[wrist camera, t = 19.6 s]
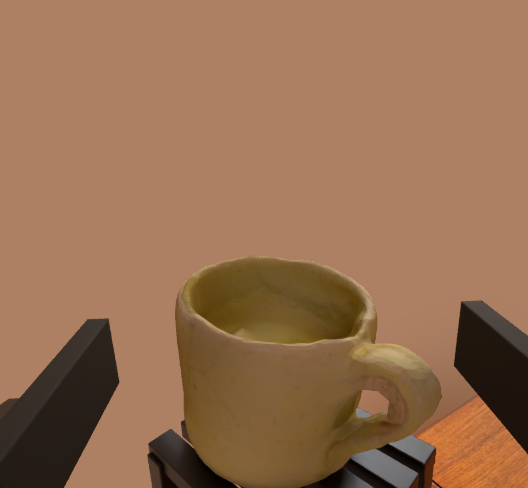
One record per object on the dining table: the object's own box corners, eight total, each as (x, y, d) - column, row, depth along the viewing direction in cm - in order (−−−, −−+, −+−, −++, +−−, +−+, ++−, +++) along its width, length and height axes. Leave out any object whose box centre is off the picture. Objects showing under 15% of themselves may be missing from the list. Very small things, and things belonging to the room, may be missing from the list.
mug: (118, 386, 21) (166, 219, 19) (265, 370, 28) (316, 242, 25) (212, 653, 12) (331, 398, 10) (400, 539, 18) (504, 365, 16)
